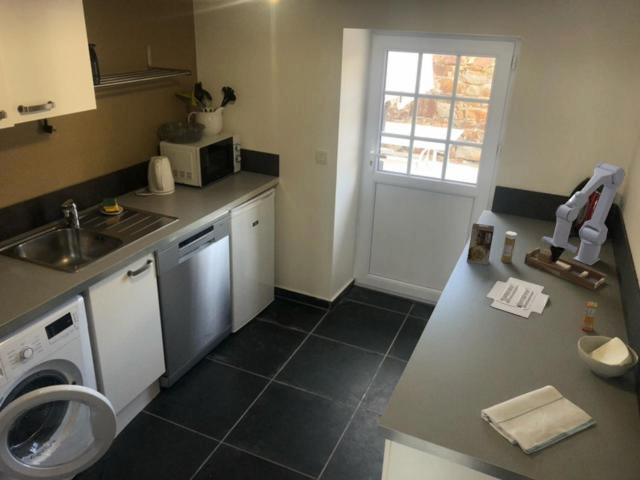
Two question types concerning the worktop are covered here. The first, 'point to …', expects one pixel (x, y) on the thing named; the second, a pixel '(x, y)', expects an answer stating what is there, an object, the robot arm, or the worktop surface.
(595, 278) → the brown wooden open box
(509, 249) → the sprinkles bottle
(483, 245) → the coffee box
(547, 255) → the walnut block
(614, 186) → the robot arm
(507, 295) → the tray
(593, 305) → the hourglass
